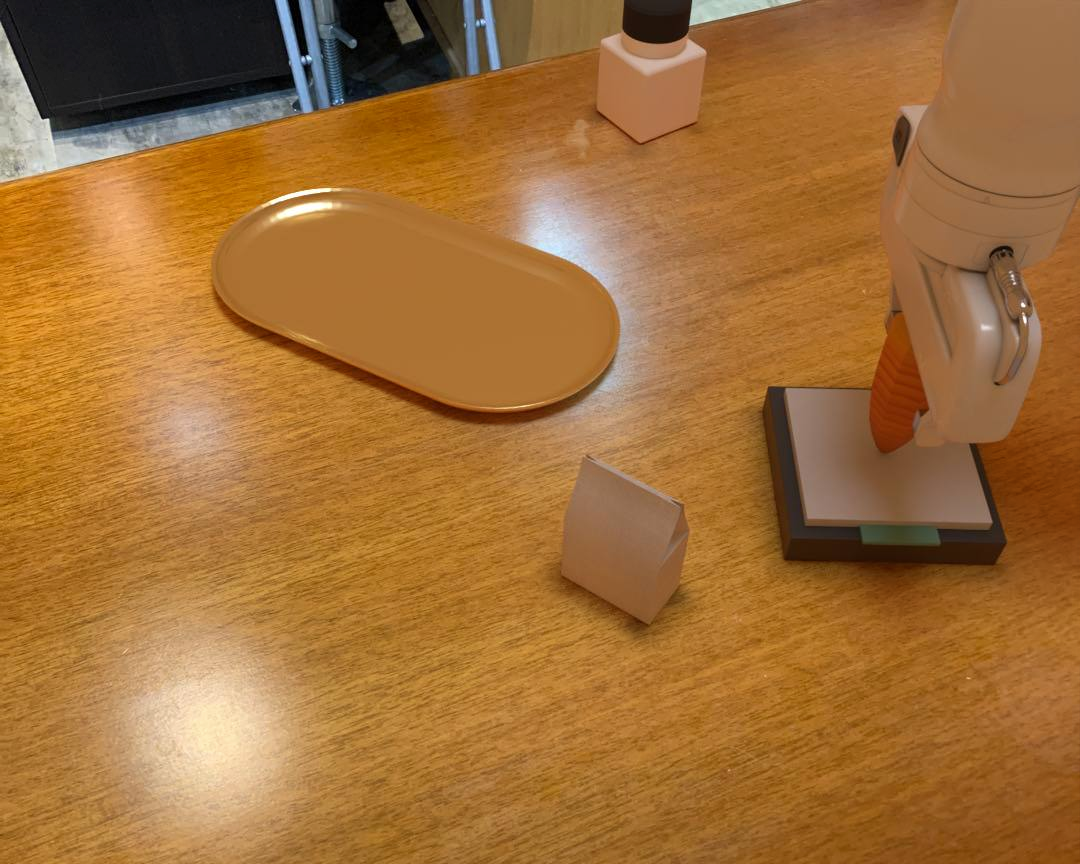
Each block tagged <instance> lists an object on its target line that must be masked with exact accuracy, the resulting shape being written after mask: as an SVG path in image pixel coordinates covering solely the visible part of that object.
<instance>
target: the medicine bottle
mask: <svg viewBox="0 0 1080 864" xmlns="http://www.w3.org/2000/svg"><path fill="white" fill-rule="evenodd" d="M692 7H693V0H623V6H622V18H621V32H619V33H616V34H613V35H610V36H608V37H604V38H603V39H601V40H600V43H599V44H600V45H599V59H598V76H597V94H596V110H597V112H598V113H600V114H601V115H602V116H604V117H605V118H606V119H608V120H609V121H610V122H612V123H613V124H614V125H615V126H617V127H618V128H619V129H620V130H621V131H623V132H625V133H626V134H627V135H628V136H629V137H631V138H632V139H633V140H634V141H636V142H637V143H638V144H643V143H646V142H648V141H652V140H653V139H657V138H658V137H661V136H663V135H666V134H670V133H671V132H674V131H676V130H679V129H682V128H684V127H687V126H689V125H692V124H694V123H696V122H697V121H698V119H699V112H700V104H701V98H702V90H703V83H704V75H705V69H706V62H707V61H706V60H707V55H708V53H707V51H706V49H704V48H703V47H701V46H700V45H698V44H697V43H696V42H694V41H692V40H691V39H689V32H690V24H691V16H692V9H693V8H692Z"/></svg>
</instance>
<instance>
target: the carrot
mask: <svg viewBox="0 0 1080 864" xmlns="http://www.w3.org/2000/svg"><path fill="white" fill-rule="evenodd" d="M885 337H886V338H885V339H884V342H883V345H882V350H881V352H880V356H879V359H878V362H877V366H876V370H875V373H874V377H873V380H872V384H871V388H872V390H871V398H870V410H869V422H870V428H871V433H872V436H873V439H874V442H875V445H876V447H877V448H878V450H879V451H880V452H882V453H890V452H893V451H895V450H896V449H898V448H900V447H902V446H903V445H905V444H907V443H908V442H909V441H910V440H912V439H913V438H914V435H913V431H912V426H911V424H912V422H913V421H914V416H915V414H916V412H917V409H929V406H928V402H927V399H926V395H925V391H924V388H923V384H922V381H921V377H920V374H919V370H918V366H917V363H916V359H915V356H914V352H913V348H912V345H911V341H910V338H909V334H908V330H907V327H906V323H905V320H904V316H903V313H902V312H900V313H898V314H897V315H896V316H895V317H894V319H893V321H892V324H891V327H890V329H889V332H888V335H887V334H886V336H885Z"/></svg>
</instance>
